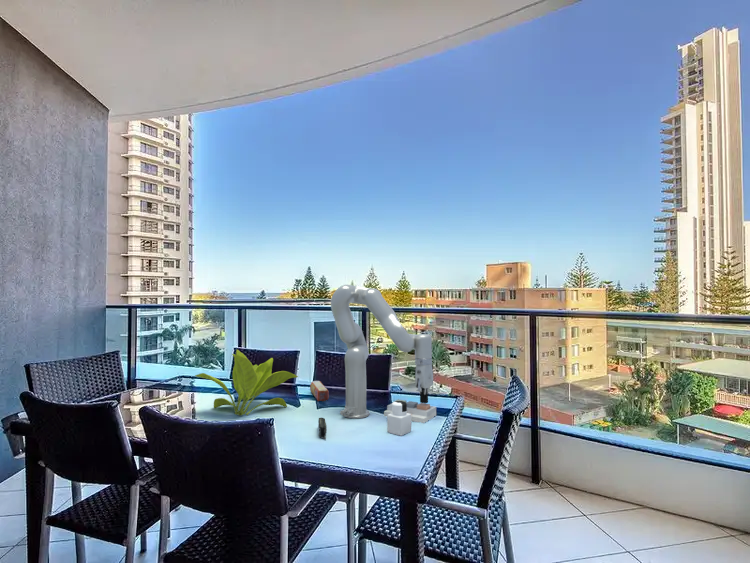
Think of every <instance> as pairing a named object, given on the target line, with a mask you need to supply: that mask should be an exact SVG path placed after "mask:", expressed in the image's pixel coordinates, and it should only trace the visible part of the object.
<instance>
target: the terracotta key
mask: <svg viewBox="0 0 750 563" xmlns="http://www.w3.org/2000/svg"><path fill="white" fill-rule="evenodd" d="M430 406H431V404H430V403H421V402H420V403H418V405H417V409H421V410H428V409H430Z"/></svg>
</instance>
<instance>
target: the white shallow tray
mask: <svg viewBox="0 0 750 563" xmlns="http://www.w3.org/2000/svg"><path fill="white" fill-rule="evenodd" d="M407 402H408V401H406V403H407ZM390 413H392V403H390V404H388V405H386V410H384V411H383V417H387V415H388V414H390ZM407 413H409V414H411V422H415V423H419V422H421V423H420V424H425V422H426V423H427V422H428V420H429V421H430V420H432V419H433V418H435V417H436V416H437V406H434V405H430V409H428V410H421V409H417V407H416V408H409V407H407ZM434 416H435V417H434Z"/></svg>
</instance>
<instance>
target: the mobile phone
mask: <svg viewBox="0 0 750 563" xmlns="http://www.w3.org/2000/svg"><path fill="white" fill-rule="evenodd" d="M317 425H318V436H320V437H319V438H321V437H322V438H323V440H324V439H326V436H327V421H326V419H325V418H324V417H318V424H317Z"/></svg>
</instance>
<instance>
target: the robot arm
mask: <svg viewBox="0 0 750 563" xmlns="http://www.w3.org/2000/svg"><path fill="white" fill-rule="evenodd" d="M350 303H351V304H356V305H363V306H366V308H367V309H368V310H369V311H370V313H371V314H372V315H373V316H374V317H375V318H374V319H376V320H377V322H378V323H379V324H380V326H381V328H383V330H384V331H385V333H386V334H387V336H388V337H389V338H390V340H391V341H392V342H393V344H394V345H395V346H396V348H398V350H399V351H400V352H403V353H409V352H412V350H414V362H415V363H414V365H415V375H414V377H415V378H414V382H415V388H417V392H419V402H420V403H425V404H429V388H430V387H432V386H434V371H433V354H432V352H433V350H432V342H433V341H432V336H431V335H430V334H428V333H419V334H414V333H409V332H408V331H407V330H406V329H405V327H403V325H402V324H401V322H400V320H399V318H398V316H397V313H396V312H395V311H394V309H393V308H392V307H391V306H390V305H389V303H388V302H387V301H386V299H385V298H384V297H383V295H382V293H381V291H380V290H379V289H377V288H374V287H373V288H371V287H364V286H358V285H353V284H352V285H351V284H343V285H341V286H339V287H338V288H337V289H336V290H335V291H334V292H333V294H332V295H331V299H330V307H331V308H330V309H331V313H332V315H333V319H334V323H335V325H336V329H337V332H338V335H339V336H338V337H339V338H340V340H341V341H342V343H344V344H345V345H346V347H347V350H346V352H345V354H344V367H345V371H344V372H345V405H344V409H342V410H340V411H339V412H340V415H341V416H342V417H344V418H347V419H348V418H349V419H363V418H366V417H367V418H368V416H370V412H371V411H370V410H368V409H367V364H366V363H367V359H368V357H369V355H370V354H369V353H370V352H369V348H368V347H369V346H368V345H367V342H366V338H365V336H364V332H363V330H362V327H361V326H360V325H359V324H358V323H357V322H355V319H354V317H353V314H352V311H351V308H350Z"/></svg>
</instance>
